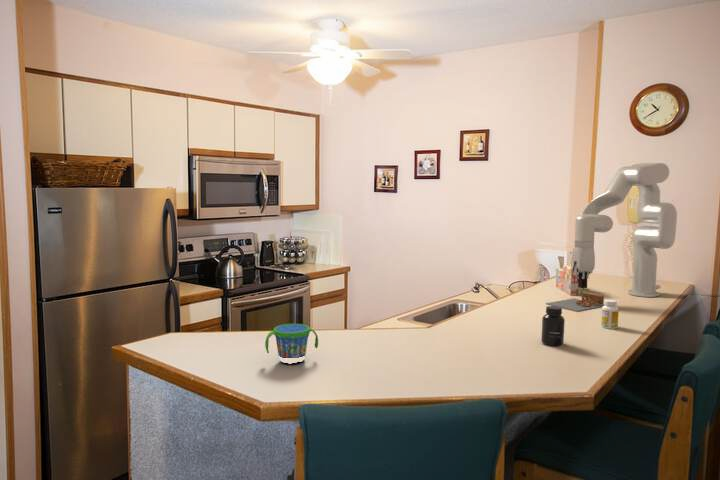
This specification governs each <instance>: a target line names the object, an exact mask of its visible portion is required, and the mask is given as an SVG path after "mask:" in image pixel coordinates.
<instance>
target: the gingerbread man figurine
mask: <svg viewBox="0 0 720 480" xmlns="http://www.w3.org/2000/svg"><path fill="white" fill-rule="evenodd" d="M581 300H582V301H576V304H580V306H582V307H589V305H598V304H602V305H604V301H605V295H602V294H597V293H593V292H588V291H584V292H582V296H581ZM585 301H587V302H585ZM589 302H591V304H590V303H589Z"/></svg>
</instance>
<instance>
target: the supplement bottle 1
mask: <svg viewBox="0 0 720 480" xmlns="http://www.w3.org/2000/svg"><path fill="white" fill-rule="evenodd" d="M562 314H563V308H561V307H557V306H551V305H547V306H546V307H545V314H543V316H542V318H541V319H542V320H541V321H542V322H541V336H540V337H541V340H540V341H541V343H542V344H543V345H544V346H545V345H546V346H548V345H549V347H561V345H562V346H563V345H564V341H565V321H566V320H565V318H564V316H563V315H562Z"/></svg>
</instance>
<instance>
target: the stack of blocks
mask: <svg viewBox="0 0 720 480" xmlns="http://www.w3.org/2000/svg"><path fill="white" fill-rule="evenodd" d="M555 270H556V271H555V272H556V273H555V274H556V275H555V276H556V277H555V286H556V287H555V288H558V290H561V291H563V292H564V293H566V294H567V295H568V296H571V297H573V296H574V297H575V296H577V297H579V296H581V297H582V292H585V288H579V287H578V277H577V275H574V274H573V273H574V271H572V270H571V265H562V268H556V269H555ZM581 274H582V273H581Z"/></svg>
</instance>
